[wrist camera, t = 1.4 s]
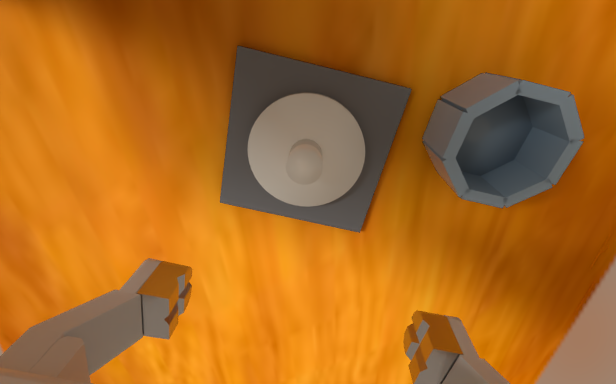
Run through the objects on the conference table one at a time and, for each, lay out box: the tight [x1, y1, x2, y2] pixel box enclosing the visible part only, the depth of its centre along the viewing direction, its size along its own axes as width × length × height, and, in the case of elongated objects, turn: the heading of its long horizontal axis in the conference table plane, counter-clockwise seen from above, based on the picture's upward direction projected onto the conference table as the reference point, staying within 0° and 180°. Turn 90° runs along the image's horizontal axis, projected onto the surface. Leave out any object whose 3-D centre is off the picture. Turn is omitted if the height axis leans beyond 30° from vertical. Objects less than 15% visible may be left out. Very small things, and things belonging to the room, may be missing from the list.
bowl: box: [422, 73, 584, 208], centre depth 24 cm, size 9×9×5 cm
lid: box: [248, 92, 365, 207], centre depth 25 cm, size 10×10×4 cm
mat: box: [220, 46, 412, 232], centre depth 27 cm, size 14×14×1 cm
